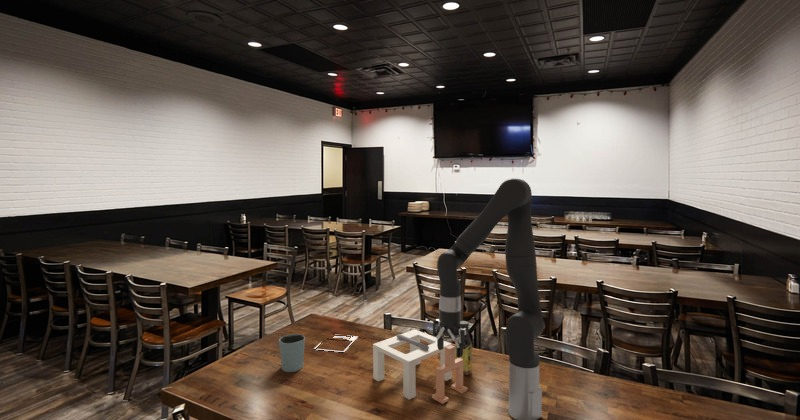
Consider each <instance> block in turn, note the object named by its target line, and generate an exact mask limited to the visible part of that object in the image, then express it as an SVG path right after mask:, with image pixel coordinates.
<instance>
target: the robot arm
mask: <svg viewBox="0 0 800 420" xmlns="http://www.w3.org/2000/svg"><path fill="white" fill-rule="evenodd" d="M532 196H533V195H532V189H531V186H530V185H529V184H528V182H526V181H525V180H524V179H520V178H508V179H506V180H504V181H502V183H501V184H500V185H499V187H498V188H497V190H496V191H495V193H494V195H493V196H491V198H490V201H488V203H487V204H486V206H485V207H484V209H483V210H482V211H481V212H480V214H479V215H477V216H476V218H475V219H474V220H473V221H472V222H471V223H470V224H469V225H468V226H467V227H466V228H464V229H465V230H463V231H462V233H461V234H460V235H459V236H458V237H457V238H456V241H455V243H453V245H452V246H451V247H449V249H448V250H447V251H444V252H442V253H440V255H438V258H437V262H436V263H437V267H436V268H437V274H438V278H439V302H438V318H436V319H433V322H432V336H433V337H436V338H437V347H438V349H439V350H442V349H443V348H444V341H445V340H444V337H448V338H449V339H452V340H451V341H453V342H454V343H455V358H456V357H457V358H460V357H462V356H463V347H465V346H468V332H469V329H468V330H467V328H465V329H462V328H460V322H461V321H462V298H461V287H462V286H461V279H459V278H458V270H459V268H461V266H462V265H464V263H465V262H466V261H467V260H468V258H469V257H470V256H471V254H473V253H474V252H475V251H476V250H477V249H478V248H479V247H480V246H481V245H482V244H483V243H484V241H486V239H487V238H488V237H489V236H490V234H491V233H492V231H493V230H494V229H495V227H496V226H497V224H499V222H500V221H501V220H502V219H504V218H505V216H507V232H506V238H505V247H504V254H505V268H506V271H507V274H508V277H509V279H510V281H511V284H512V285H513V287H514V289H515V292H516V297H517V313H514V314H512V315H511V316H509V318H508V319H507V321H506V324H505V325H506V327H505V341H506V343H505V344H506V345H505V346H506V352H507V355H508V415H509V416H510V417H511V418H513V420H539V419H540V418H541V417H542V413H543V412H542V409H543V408H542V407H543V406H542V405H543V404H542V401H543V399H542V398H543V395H542V394H543V388H542V387H541V386H540V355H539V353H538V352H537V351H535V340H536V339H537V338H539V337H540V336H541V335H542V334H543V332H544V328H545V321H544V316H543V312H542V311H543V310H542V306H541V300H540V295H539V281H538V271H537V270H538V269H537V266H538V265H537V256H536V245H535V238H534V231H533V225H532V198H533V197H532ZM457 336H458V338H457ZM458 341H459V342H458ZM456 346H457V347H456Z"/></svg>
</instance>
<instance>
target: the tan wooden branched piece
mask: <svg viewBox="0 0 800 420" xmlns="http://www.w3.org/2000/svg"><path fill="white" fill-rule="evenodd" d="M453 370H454V372H455V375H454V376H455V377H454V381H455V382H454V383H453V384H451V385H450V388H451V389H453V390H455V391H456V392H458V393H460V394H463V393H465V392H468V387H467V386H465V385H464V375H463V359H461V358H457V359H456V345H453V344H452V345H449V346H447V347H445V364H444V365H442V366H441V365H440V366H438V367H436V368H435V386H436V387H435V393H434V394H432V395H431V399H433V400H435V401H437V402H439V403H440V404H441V405H444V404H445V403H447V402H449V400H450V399H449V397H448V396H447V395H445V380H444V374H446V373H448V372H450V371H453Z"/></svg>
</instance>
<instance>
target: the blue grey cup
mask: <svg viewBox="0 0 800 420" xmlns="http://www.w3.org/2000/svg"><path fill="white" fill-rule="evenodd" d="M305 341H306V336H305V335H303V334H299V333H292V334H285V335H283V336H281V337H279V339H278V344H279V353H280V355H279V356H280V363H281V370H282V371H283V372H285V373H294V372H298V371H301V370H302V369H303V367H304V360H305V359H304V355H305V344H306V342H305Z"/></svg>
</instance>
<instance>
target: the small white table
mask: <svg viewBox="0 0 800 420" xmlns="http://www.w3.org/2000/svg"><path fill="white" fill-rule="evenodd" d="M421 340H422V341H424V342H427V343H428V345H426V344H424V343H421ZM407 343H408V344H409V352H408V353H404V352H402V351H399V350H397V349H395V348H396V347H400V346H401V345H405V344H407ZM449 345H452V346H453V344H452V343H451V342H449V341H446V340H444V348H443V349H442V350H439V349H438V347H437V338H436V336H433V335H430V334H428V333H426V332H423V331H420V330H417V329H412V330H409V331H405V332H404V333H401V334H400V333H397V334H396V335H395V336H392V337H390V338H386V339H384V340H380V341H378V342H375V343H373V344H372V359H373V360H372V364H373V365H372V366H373V367H372V368H373V369H372V372H373V379H374V380H375V381H377V382H378V383H379V382H381V381H383V380H385V379H386V378H385V376H386V375H385V355H386V356H388V357H390V358H392V359H394V360H396V361H398V362H401V363H402V369H403V370H402V379H403V381H402V382H403V384H402V385H403V386H402V387H403V388H402V389H403V391H402V393H403V397H404V398H405V399H407V400H412V399H414V398H416V397H417V396H416V382H417V381H416V366H418V365H420V364H421V361H423V360H426V359H429V358H430V357H433V356H435V355H438V354H439V355H440V360H439V361H440V366H442V365H444V364H445V347H447V346H449ZM452 371H453V370H452ZM452 371H450V372H448V373H446V374H444V382H447V381H449V380H451V379H452V378H453V372H452Z"/></svg>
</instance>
